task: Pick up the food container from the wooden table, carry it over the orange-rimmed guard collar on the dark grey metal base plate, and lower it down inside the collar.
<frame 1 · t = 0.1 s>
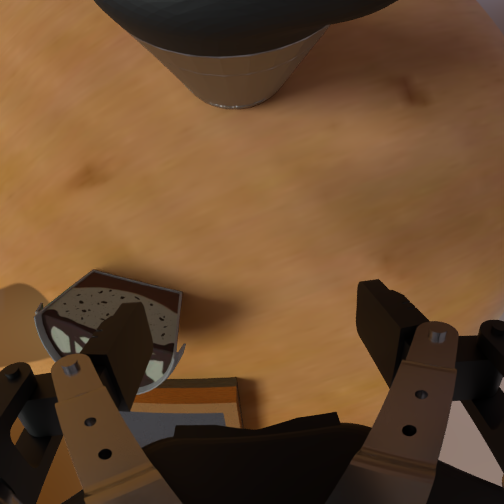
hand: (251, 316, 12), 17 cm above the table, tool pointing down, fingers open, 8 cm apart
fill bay: (162, 425, 37), on the table
food container: (133, 306, 31), on the table
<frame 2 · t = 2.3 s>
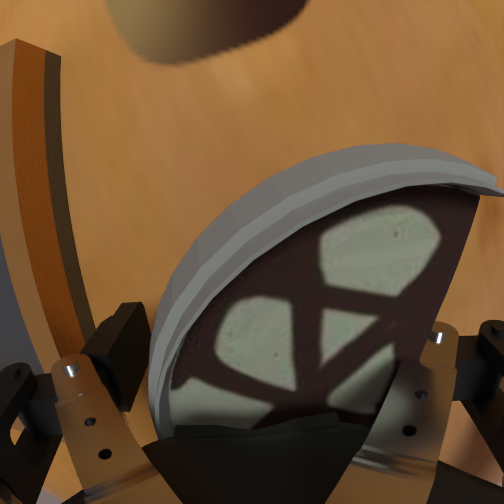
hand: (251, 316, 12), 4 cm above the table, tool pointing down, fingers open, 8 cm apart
food container: (260, 260, 16), on the table
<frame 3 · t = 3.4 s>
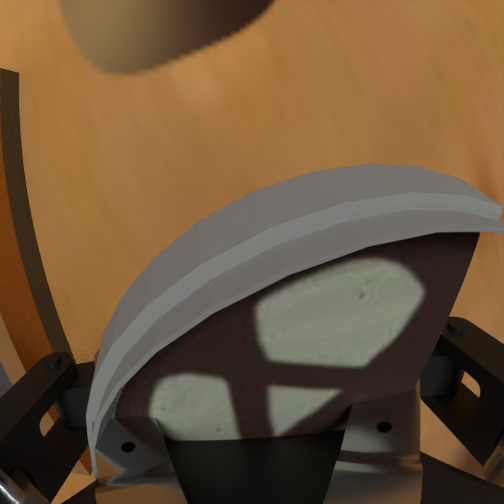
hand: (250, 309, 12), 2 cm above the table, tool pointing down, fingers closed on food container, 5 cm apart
food container: (234, 283, 14), on the table, touching gripper
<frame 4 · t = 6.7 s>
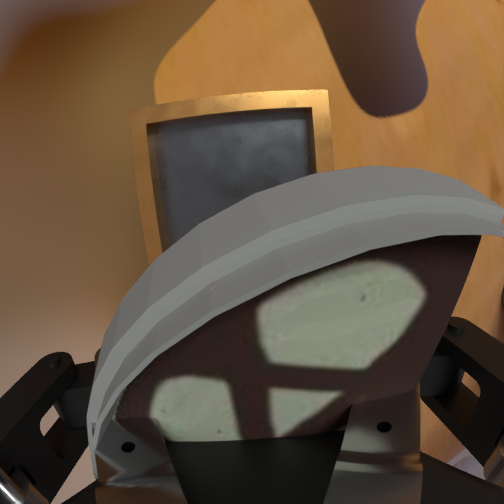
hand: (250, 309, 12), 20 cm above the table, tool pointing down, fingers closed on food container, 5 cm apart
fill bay: (238, 209, 31), on the table
food container: (234, 284, 14), point 18 cm above the table, touching gripper
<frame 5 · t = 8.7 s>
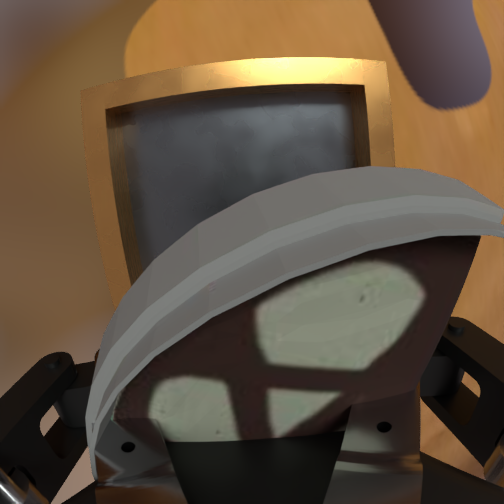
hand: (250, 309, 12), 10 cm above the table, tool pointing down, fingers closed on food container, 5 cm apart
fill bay: (247, 237, 21), on the table
food container: (234, 284, 14), point 8 cm above the table, touching gripper
when the fingers open (5 cm above the table, at t = 10.2 s): food container drops 1 cm, resting on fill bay.
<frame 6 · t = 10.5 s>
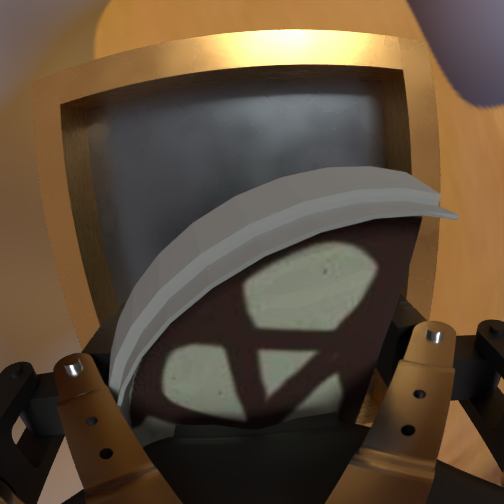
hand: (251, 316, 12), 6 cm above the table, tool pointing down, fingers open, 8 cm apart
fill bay: (248, 264, 17), on the table
food container: (222, 276, 15), point 2 cm above the table, touching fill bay, gripper
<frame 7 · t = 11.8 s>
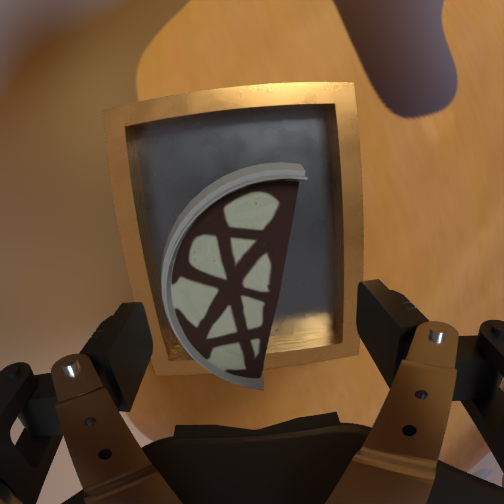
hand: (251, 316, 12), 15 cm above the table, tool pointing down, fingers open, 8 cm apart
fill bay: (242, 230, 26), on the table
food container: (224, 235, 24), point 1 cm above the table, touching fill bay
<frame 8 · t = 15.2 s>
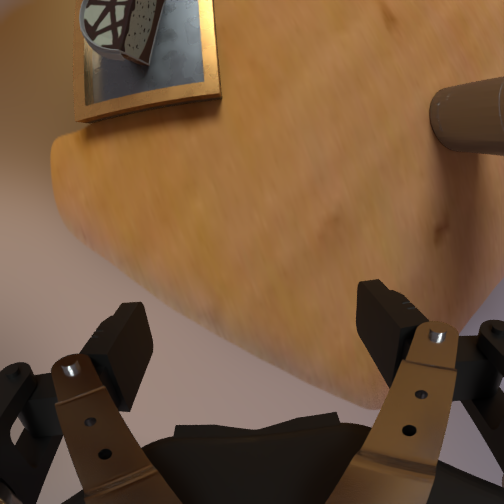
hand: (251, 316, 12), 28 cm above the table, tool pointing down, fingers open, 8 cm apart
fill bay: (147, 33, 32), on the table
food container: (134, 32, 30), point 1 cm above the table, touching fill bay
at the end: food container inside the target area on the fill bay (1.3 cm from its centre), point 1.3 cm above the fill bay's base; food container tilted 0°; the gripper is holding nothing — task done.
